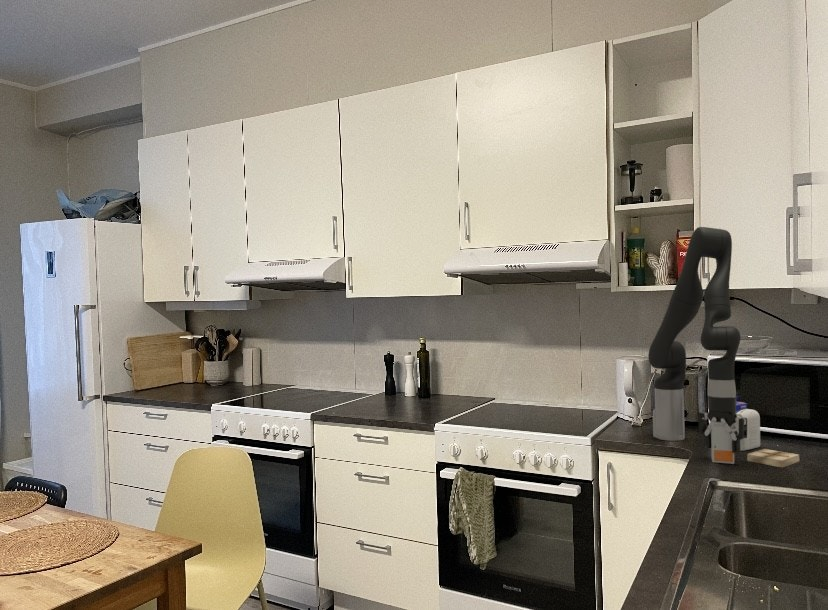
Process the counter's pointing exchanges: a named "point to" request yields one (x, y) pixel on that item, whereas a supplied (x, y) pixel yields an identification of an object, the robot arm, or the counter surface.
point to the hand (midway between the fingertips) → (722, 450)
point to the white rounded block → (750, 429)
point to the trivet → (773, 458)
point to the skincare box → (721, 443)
